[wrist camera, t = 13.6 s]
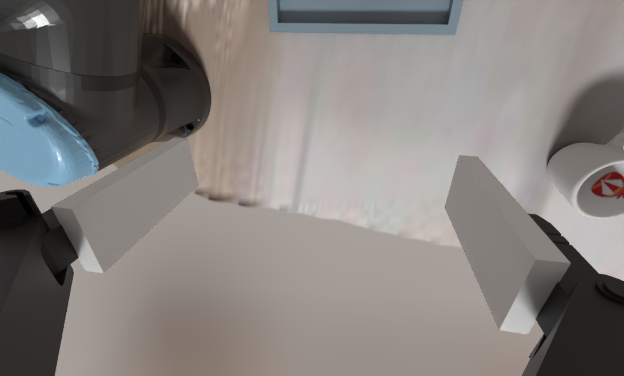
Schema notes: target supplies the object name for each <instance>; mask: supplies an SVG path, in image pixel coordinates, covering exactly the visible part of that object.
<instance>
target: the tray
mask: <svg viewBox="0 0 624 376" xmlns="http://www.w3.org/2000/svg"><path fill="white" fill-rule="evenodd" d="M462 3H463V0H269V17H270V32H296V33H367V34H439V35H455V33H456V29H457V25H458V20H459V16H460V11H461V7H462Z"/></svg>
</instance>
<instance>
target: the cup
mask: <svg viewBox="0 0 624 376" xmlns="http://www.w3.org/2000/svg"><path fill="white" fill-rule="evenodd" d="M623 146H624V131H623V132H621V133H619V134H618V135H617V136H615V137H614V138H613V139H612V140H611V141H609V142H608V143H606V144H604V145H599V144H594V143H586V142H584V143H575V144H571V145H569V146H566V147H564V148H562V149H561V150H559V151H558V152H557V153H555V154H554V155H553V157H552V158H551V159H550V161H549V163H548V166H547V175H548V177H549V179H550V181H551V182H552V184H553V185H554V186H555V187H556V188H557V189H558V191H559V192H560V193H561V194H562V195H563V196H564V197H565V199H566V200H567V201H568V202H569V203H570V204H571V205H572V207H573V208H574V209H575V210H576V211H577V212H579V213H580V214H582V215H584V216H587V217H590V218H597V219H607V218H614V217H618V216H622V215H624V150H623Z"/></svg>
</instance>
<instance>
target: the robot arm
mask: <svg viewBox="0 0 624 376" xmlns="http://www.w3.org/2000/svg"><path fill="white" fill-rule="evenodd" d="M147 2H148V0H0V169H1V170H2V171H4V172H6V173H7V174H9V175H11V176H13V177H16V178H18V179H20V180H22V181H25V182H28V183H30V184H34V185H39V186H44V187H59V186H64V185H67V184H70V183H72V182H74V181H77V180H79V179H81V178H83V177H87V176H92V175H94V174H96V172H98V171H99V170H101V169H103V168H105V167H107V166H109V165H110V164H112V163H114V162H116V161H118V160H120V159H121V158H123V157H125V156H127V155H129V154H131V153H132V152H134V151H136V150H138V149H140V148H142V147H143V146H145V145H147V144H149V143H151V142H161V141H167V142H165V143H164V144H162V145H160V146H158V147H156V148H155V149H153V150H151V151H149V152H147V153H146V154H144V155H142V156H140V157H139V158H137V159H135V160H133V161H131V162H130V163H128V164H126V165H124V166H123V167H121V168H119V169H117V170H115V171H114V172H112V173H110V174H108V175H106V176H105V177H103V178H101V179H99V180H98V181H96V182H94V183H92V184H90V185H89V186H87V187H85V188H83V189H81V190H80V191H78V192H76V193H74V194H73V195H71V196H69V197H67V198H66V199H64V200H62V201H60V202H58V203H57V204H55V205H53V206H51V209H49V210H48V211H46V212H45V213H42V214H41V212H40V210H39V208H38V207H37V205H36V203H35V201H34V199H33V198H32V196H31V194H30V192H29V191H27V190H10V191H5V192H1V193H0V376H55V371H56V365H57V360H58V355H59V349H60V344H61V339H62V333H63V328H64V322H65V316H66V312H67V307H68V301H69V296H70V291H71V285H72V280H73V275H74V272H73V269H72V267H71V265H70V264H71V263H72V262H74V261H75V260H76V259H78V258H79V260H80V262H81V264H82V266H83V267H84V269H85V270H86V271H92V272H99V273H104V272H105V271H107V270H108V269H109V268H110V267H111V266H112V265H113V264H114V263H115V262H116V261H117V260H118V259H119V258H120V257H122V256H123V255H124V254H125V253H126V252H127V251H128V250H129V249H130V248H131V247H132V246H133V245H135V244H136V243H137V242H138V241H139V240H140V239H141V238H142V237H143V236H144V235H145V234H146V233H148V232H149V231H150V230H151V229H152V228H153V227H154V226H155V225H156V224H157V223H158V222H159V221H160V220H162V219H163V217H165V216H166V215H167V214H168V213H169V212H170V211H171V210H172V209H173V208H175V207H176V206H177V205H178V204H179V203H180V202H181V201H182V200H183V199H184V198H185V197H186V196H187V195H189V194H190V193H191V192H192V191H193V190H194V189H195V188H196V187H197V186H198V181H197V177H196V172H195V168H194V163H193V159H192V154H191V150H190V145H189V141H188V138H186V137H188V136H190V135H192V134H193V133H195V132H196V131H198V130H199V129H200V128H201V127H202V126H203V125H204V123H205V122H206V120H207V118H208V115H209V112H210V106H211V96H210V89H209V85H208V82H207V79H206V76H205V74H204V72H203V70H202V68H201V67H200V65H199V64H198V62H197V61H196V59H195V58H194V57H193V56H192V55H191V54H190V53H189V52H188V51H187V50H186V49H185V48H184V47H183V46H181V45H180V44H179V43H177V42H175V41H174V40H172V39H170V38H167V37H165V36H161V35H157V34H144V27H145V19H146V11H147ZM445 209H446V211H447V213H448V216H449V218H450V220H451V222H452V225H453V227H454V229H455V232H456V234H457V236H458V238H459V241H460V243H461V245H462V247H463V250H464V252H465V254H466V256H467V259H468V261H469V263H470V265H471V268H472V270H473V272H474V274H475V277H476V279H477V281H478V283H479V286H480V288H481V290H482V292H483V295H484V297H485V299H486V302H487V304H488V306H489V308H490V311H491V313H492V315H493V317H494V319H495V322H496V324H497V326H498V329H499V330H503V331H510V332H517V333H523V334H528V333H529V331H530V330H531V328H532V326H533V324H534V323H535V321H536V320H537V322H538V324H539V325H540V327H541V329H542V331H543V332H544V334H543V336H542V338H541V339H540V341H539V342H538V344H537V345H536V347H535V348H534V350H533V352H532V353H531V354H530V356H529V358H530V360H529V362H528V365H527V366H526V369H525V370H524V372H523V374H522V376H624V281H622V280H620V279H617V278H614V277H611V276H608V275H604V274H599V273H598V272H597V271H596V270H595V269H594V268H593V267H592V266H591V265H590V264H589V263H588V262H587V261H586V260H585V259H584V258H583V257H582V256H581V254H580V253H579V252H578V251H577V250H576V249H575V248H574V247H573V246H572V245H569V242H568V241H567V240H566V239H565V238H564V237H563V236H561V234H560V232H559V231H558V230H557V229H556V228H555V227H554V226H553V225H552V224H551V223H549V222H547V221H546V220H544V219H543V218H541V217H540V216H538V215H536V214H527V212H526V211H525V210H524V209H523V208H522V207H521V206H520V204H519V203H518V202H517V201H516V200H515V199H514V198H513V197H512V195H511V194H510V193H509V192H508V191H507V190H506V189H505V187H504V186H503V185H502V184H501V183H500V182H499V181H498V179H497V178H496V177H495V176H494V175H493V174H492V173H491V171H490V170H489V169H488V168H487V167H486V166H485V165H484V163H483V162H482V161H481V160H480V159H479V158H478V157H476V156H460V155H459V158H458V161H457V165H456V168H455V172H454V176H453V179H452V183H451V186H450V190H449V194H448V197H447V201H446V204H445Z"/></svg>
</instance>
